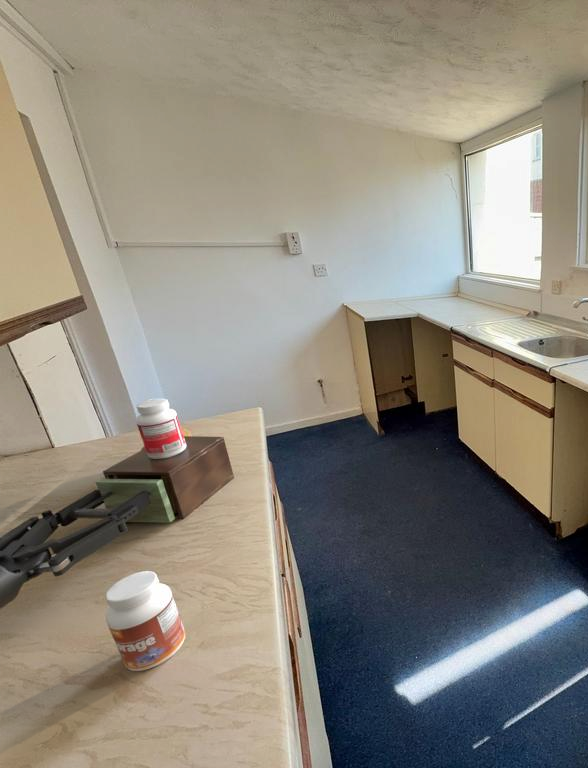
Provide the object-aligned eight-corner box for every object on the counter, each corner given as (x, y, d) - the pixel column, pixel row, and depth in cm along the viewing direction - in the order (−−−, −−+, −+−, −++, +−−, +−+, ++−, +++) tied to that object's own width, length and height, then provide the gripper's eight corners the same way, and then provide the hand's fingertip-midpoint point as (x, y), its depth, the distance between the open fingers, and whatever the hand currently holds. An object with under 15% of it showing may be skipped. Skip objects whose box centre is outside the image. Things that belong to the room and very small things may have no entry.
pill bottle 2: (112, 675, 49) (80, 608, 46) (149, 630, 55) (124, 567, 51) (165, 671, 50) (138, 604, 46) (197, 626, 56) (175, 564, 52)
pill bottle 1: (161, 446, 83) (145, 397, 80) (193, 444, 84) (179, 396, 81) (140, 461, 78) (122, 409, 74) (175, 458, 78) (159, 407, 75)
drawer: (137, 548, 69) (121, 506, 66) (73, 547, 69) (54, 505, 66) (220, 482, 88) (210, 447, 85) (170, 481, 88) (158, 446, 85)
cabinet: (183, 519, 77) (168, 472, 74) (120, 518, 78) (102, 471, 74) (234, 477, 91) (223, 436, 88) (180, 477, 91) (167, 435, 88)
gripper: (-110, 624, 52) (74, 513, 73) (46, 626, 51) (185, 514, 73) (-141, 579, 49) (59, 478, 71) (23, 582, 49) (174, 479, 70)
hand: (123, 496), depth 72 cm, fingers closed on drawer, 8 cm apart
